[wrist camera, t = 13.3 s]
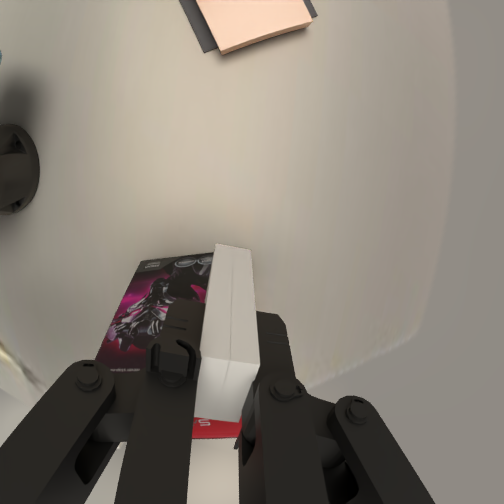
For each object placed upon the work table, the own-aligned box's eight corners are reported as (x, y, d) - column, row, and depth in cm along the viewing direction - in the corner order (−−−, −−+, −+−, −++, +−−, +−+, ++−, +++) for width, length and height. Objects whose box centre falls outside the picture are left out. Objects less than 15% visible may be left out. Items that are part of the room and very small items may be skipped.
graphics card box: (250, 245, 47) (262, 396, 22) (255, 285, 50) (269, 438, 25) (140, 258, 47) (70, 396, 22) (152, 296, 50) (102, 437, 25)
